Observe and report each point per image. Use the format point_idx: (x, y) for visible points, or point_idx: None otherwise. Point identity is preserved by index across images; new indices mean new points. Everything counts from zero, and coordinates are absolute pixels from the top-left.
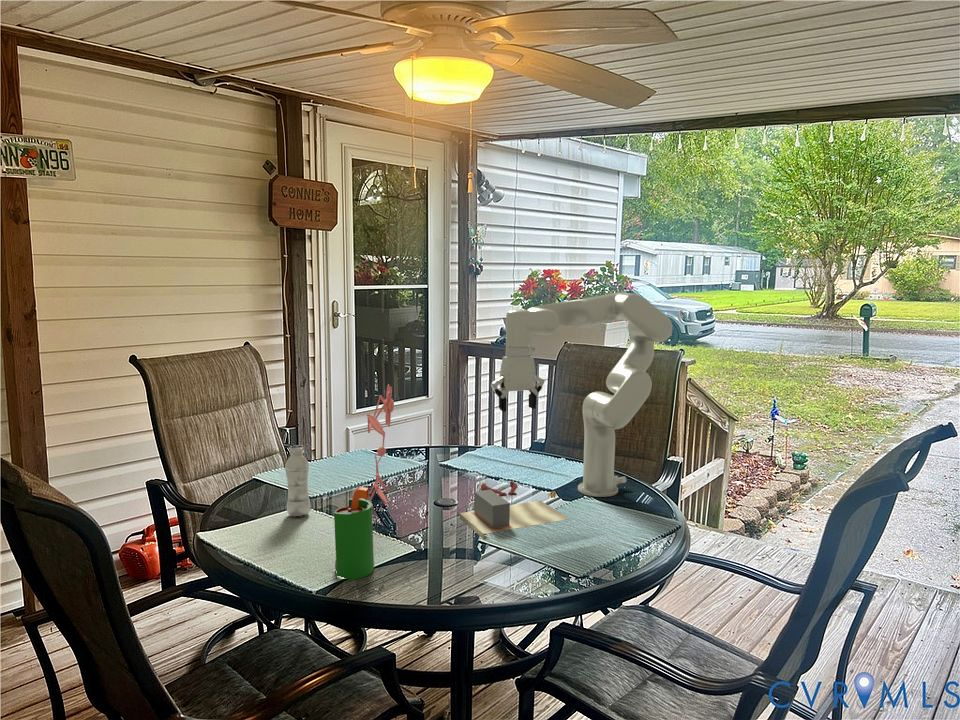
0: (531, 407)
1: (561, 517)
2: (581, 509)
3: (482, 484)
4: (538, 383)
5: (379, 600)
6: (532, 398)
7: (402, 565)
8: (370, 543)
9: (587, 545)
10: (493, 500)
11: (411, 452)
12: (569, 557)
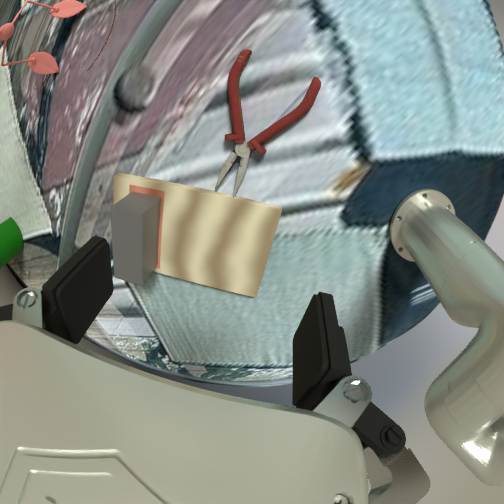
0: (300, 324)
1: (250, 287)
2: (324, 265)
3: (239, 57)
4: (382, 475)
5: (29, 286)
6: (297, 385)
7: (40, 252)
8: (4, 264)
9: (226, 338)
10: (124, 261)
11: None
12: (187, 341)
